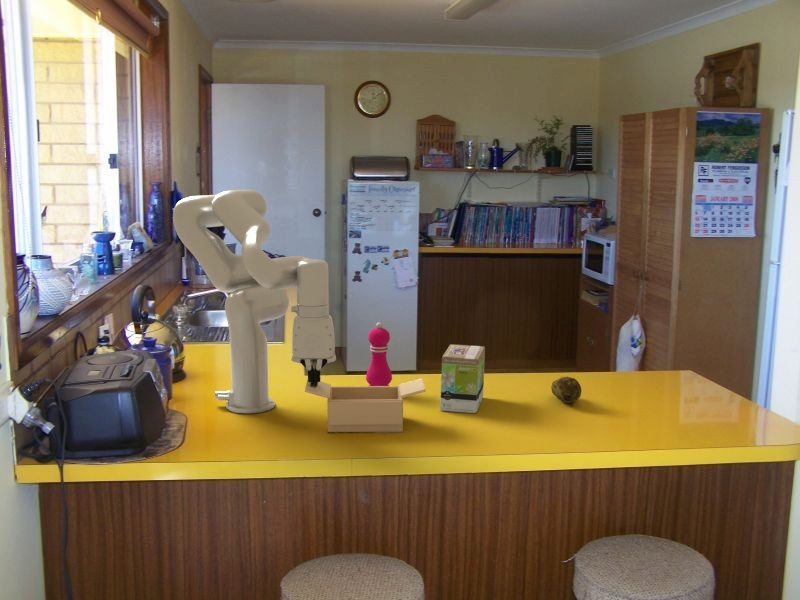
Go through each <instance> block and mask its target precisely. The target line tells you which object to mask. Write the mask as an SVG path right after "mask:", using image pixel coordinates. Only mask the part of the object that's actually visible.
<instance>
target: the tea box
mask: <svg viewBox="0 0 800 600" xmlns="http://www.w3.org/2000/svg"><path fill="white" fill-rule="evenodd" d="M485 355H486V347H485V346H482V345H481V346H480V345H468V344H466V345H465V344H449V346H448V348H447V349H446V350H445V352H444V353H443V355H442V358H441V377H440V381H441V385H440V400H439V403H440V404H439V411H444V412H453V413H454V412H456V413H468V414H469V413H470V414H476V413H477V412H478V410H479V407H480V404H481V403H482V400H483V398H484V384H485V383H484V382H485V380H484V379H485V361H486V360H485V358H486V356H485Z"/></svg>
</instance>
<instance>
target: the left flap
mask: <svg viewBox="0 0 800 600" xmlns="http://www.w3.org/2000/svg"><path fill="white" fill-rule="evenodd" d="M331 387H332V384H330V383H327V382H323V381H320V382H318V385H317V386H311V382H308V378H307V380H306V384H305V389H304V392H305V393H308V394H311V395H315V396H318V397H322V398H325V399H327V400H328V399H329V397H330V389H331Z"/></svg>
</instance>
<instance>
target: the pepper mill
mask: <svg viewBox="0 0 800 600" xmlns="http://www.w3.org/2000/svg"><path fill="white" fill-rule="evenodd" d="M367 340H368V342H369V343H370V344H369V345H370V346H369V348H370V349H369V351H370V352H371V360H370V364H369V366H368V369H367V372H366V374H365V375H366V376H365V380H366V382H367V383H368V386H390V385H389V384H390V383H391V382H392V381H393V375H392V371H391V369H390V366H389V364H388V360H387V351H389V345H388V344H389V342H390V340H391V334H390V331H388V330H387V329H386V328H384V327H383V323H382V322H380V321H378V322H377V323H376V324H375V328H372V329H371V330H370V331H369V333H368V336H367Z"/></svg>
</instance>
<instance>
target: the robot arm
mask: <svg viewBox="0 0 800 600" xmlns="http://www.w3.org/2000/svg"><path fill="white" fill-rule="evenodd" d="M266 213H267V202H266V199H265V198H264V196H263V195H262V194H261V193H260V192H259V191H257V190H254V189H233V190H232V189H231V190H226V191H222V192H220V193H217V194H209V195H208V194H207V195H205V194H204V195H192V196H188V197H185V198H182V199H181V200H179V201H178V202H177V203H176V204H175V206H174V208H173V213H172V220H173V226H174V230H175V233H176V234H177V236H178V239H180V241H181V242H182V244H183V245H184V246H185V247H186V248H187V250H188V251H189V252H190V253H191V254H192V255H193V256H194V258H195V259H196V262H198V264H199V266H200V267H201V269H202V270H203V272H204V274H206V276H207V278H208V279H209V280H210V282H211V284H212V285H213V286H214V287H215V289H216V290H218V291H219V292H221V293H229V294H228V295H227V297H226V299H225V303H224V311H225V313H224V314H225V316H226V317H225V318H226V320H227V321H226V322H227V325H228V332H229V333H228V335H229V345H230V346H229V349H230V352H229V353H230V381H231V388H230V390H226V391H223V390H219V391H217V390H216V391H215V392H214V398H215V399H217V400H218V401H226V403H225V408H226V409H227V410H228V411H229V412H233V413H236V414H257V413H258V414H259V413H264V412H267V411H271V410H272V409H273V408H275V405H276V404H275V399H273V398H272V397H269V361H268V359H269V356H268V338H267V336H266V334H265V332H264V329H263V328H262V325H261V323H265V322H269V321H274V320H277V319H280V318H282V317H284V316H285V315H286V314H287V313H288V311H289V306H290V300H289V296H288V294H287V291H286V290H285V289H289V288H295V287H296V291H297V292H296V302H297V304H296V305H294V306H291V307H290V309H291V310H290V311H291V313H296V315H295V316H294V318H293V323H292V337H291V340H292V341H291V351H292V355H291V356H292V357H291V361H292V362H293V363H297V364H301V365H302V366H303V367H304V368H305V369H306V370H307V379H308V382H311V386H317V385H318V382H321V370H322V369H323V368H324V366H325V365H326V364H330V363H333V362H336V361H337V356H336V353H335V351H336V350H335V349H336V346H335V345H336V343H335V342H336V341H335V340H336V338H335V329H334V321H333V317H332V315H330V303H329V301H330V299H329V294H330V293H329V290H330V289H329V265H328V263H327V261H325V260H323V259H316V258H313V259H312V258H308V257H306V256H302V255H292V256H291V255H290V256H282V257H275V258H271V257H270V256H268V255H267V254H266V252H265V251H264V250H263V249H262V248H261V246H263V244H264V243H266V241H267V240H268V238H269V236H270V233H271V227H270V224H269V223H268V221H266V219H264V217H265V215H266ZM215 227H224V228H225V229H226V230H227V231H228V232H229V233H230V234H231V235H232V236H233V237H234V238H235V239H236V240H237V242H238V243H239V244H240V245H241V253H240V254H236V253H234V252H232V251H231V250H230V249H229V248H228V246H227V244H226V243H225V242H224V240H223V239H222V238H221V237H220V236H218V235H217V234H215V232H212V231H211V230H210V229H208V228H215ZM312 360H316V365H314V366H313V363H312Z"/></svg>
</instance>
